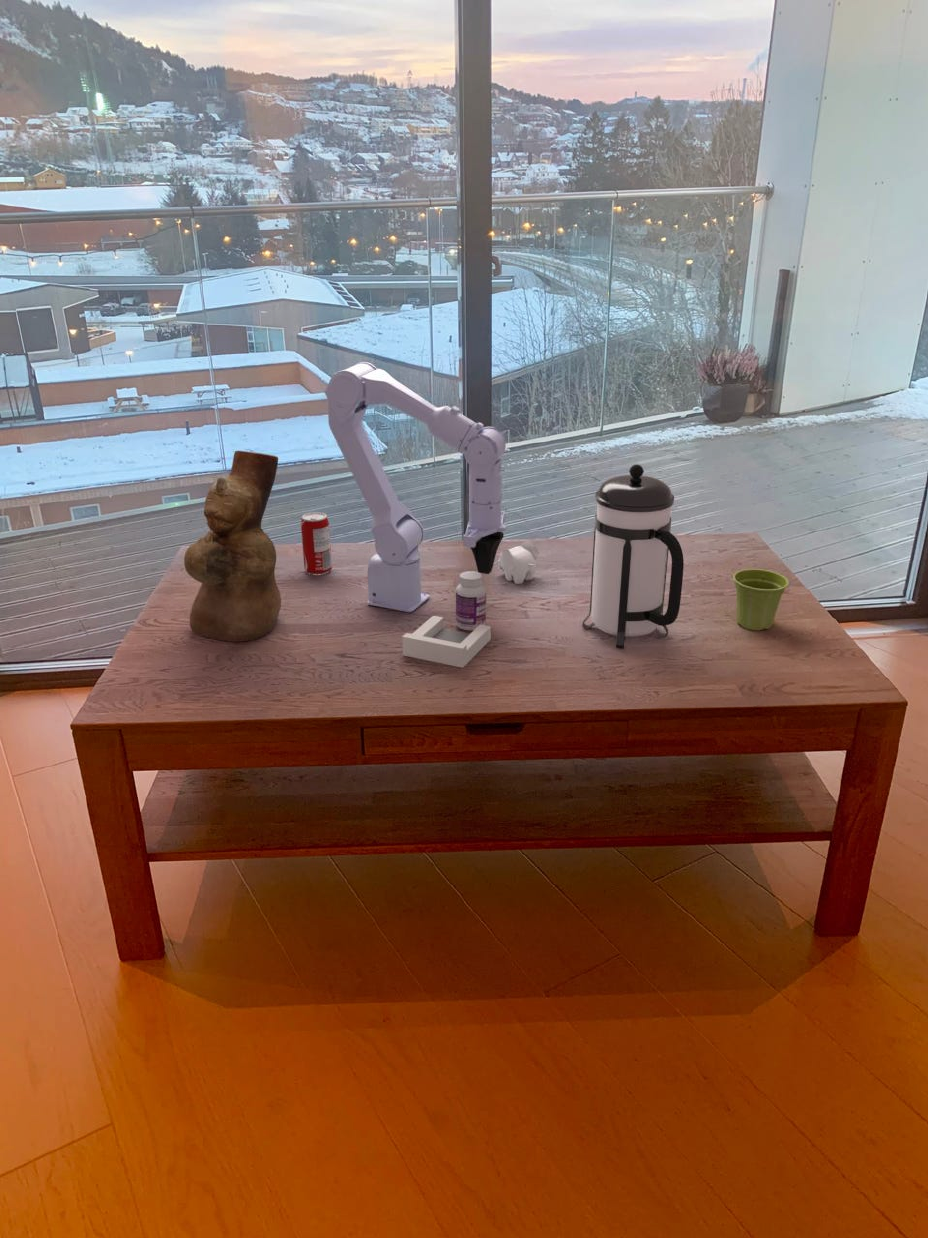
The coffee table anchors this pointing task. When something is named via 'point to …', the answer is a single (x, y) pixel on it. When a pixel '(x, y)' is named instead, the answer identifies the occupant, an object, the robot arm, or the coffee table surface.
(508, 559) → the elephant figurine
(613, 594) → the coffee press
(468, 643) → the cradle
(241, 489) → the ceramic vessel
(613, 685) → the coffee table surface
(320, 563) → the soda can
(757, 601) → the plant pot
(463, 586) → the pill bottle
